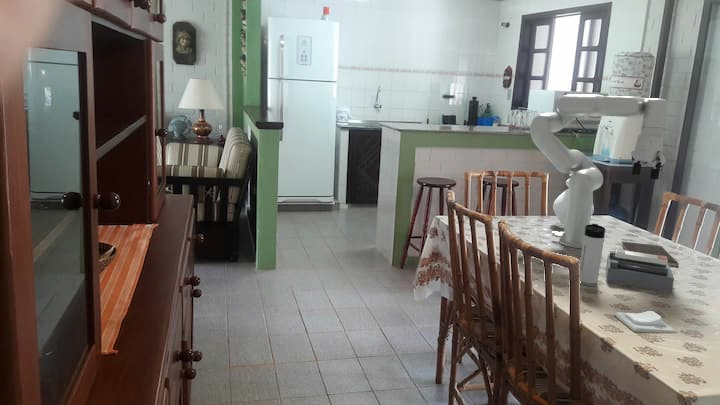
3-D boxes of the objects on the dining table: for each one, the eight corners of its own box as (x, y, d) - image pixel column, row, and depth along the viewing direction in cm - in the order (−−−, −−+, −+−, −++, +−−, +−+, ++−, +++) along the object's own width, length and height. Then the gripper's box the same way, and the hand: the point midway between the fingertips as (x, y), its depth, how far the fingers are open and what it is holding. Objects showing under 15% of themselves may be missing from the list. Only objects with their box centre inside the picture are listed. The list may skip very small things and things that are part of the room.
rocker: (615, 257, 199) (616, 252, 198) (615, 253, 203) (615, 248, 203) (666, 265, 193) (667, 259, 192) (665, 261, 197) (666, 256, 197)
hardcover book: (632, 262, 221) (633, 257, 221) (620, 246, 243) (621, 241, 242) (678, 268, 218) (679, 262, 217) (661, 251, 239) (662, 245, 239)
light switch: (680, 323, 157) (636, 319, 156) (677, 337, 158) (633, 333, 157) (657, 307, 168) (616, 304, 166) (654, 320, 169) (613, 317, 167)
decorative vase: (547, 220, 279) (554, 170, 274) (585, 224, 277) (593, 173, 271) (554, 230, 262) (561, 176, 256) (595, 233, 260) (603, 179, 254)
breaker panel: (606, 281, 196) (609, 262, 195) (605, 268, 211) (608, 250, 209) (671, 292, 189) (675, 272, 187) (666, 278, 203) (669, 259, 202)
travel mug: (596, 281, 196) (605, 224, 191) (597, 287, 190) (606, 229, 185) (577, 278, 198) (585, 222, 193) (577, 284, 192) (586, 226, 187)
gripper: (627, 129, 222) (621, 172, 226) (660, 134, 206) (652, 180, 210) (644, 129, 224) (637, 172, 228) (677, 134, 208) (669, 180, 211)
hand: (644, 176), depth 219 cm, fingers open, 9 cm apart
